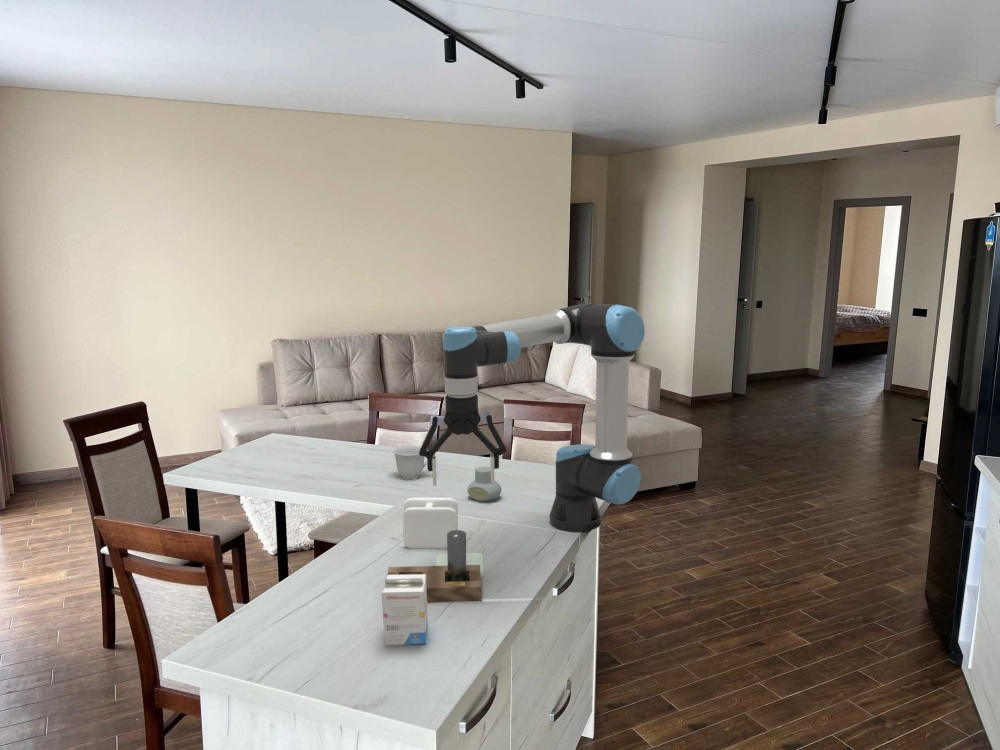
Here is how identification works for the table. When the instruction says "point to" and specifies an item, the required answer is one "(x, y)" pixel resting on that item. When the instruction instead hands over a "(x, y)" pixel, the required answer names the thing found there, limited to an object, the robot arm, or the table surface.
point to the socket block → (445, 583)
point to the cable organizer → (429, 521)
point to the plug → (456, 555)
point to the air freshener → (483, 486)
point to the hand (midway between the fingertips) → (463, 483)
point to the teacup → (409, 461)
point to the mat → (470, 560)
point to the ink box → (405, 609)
